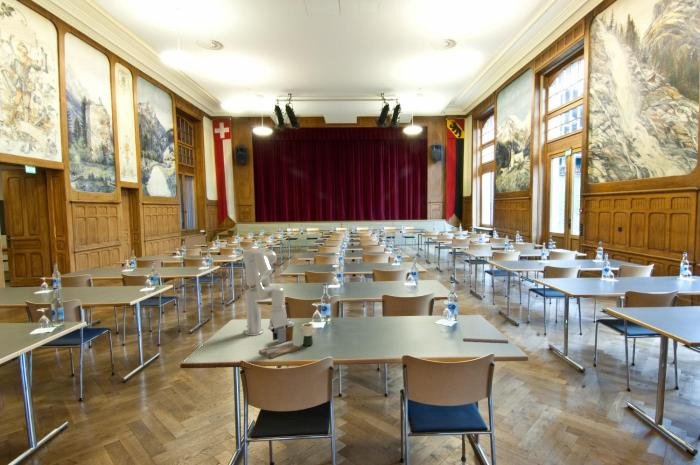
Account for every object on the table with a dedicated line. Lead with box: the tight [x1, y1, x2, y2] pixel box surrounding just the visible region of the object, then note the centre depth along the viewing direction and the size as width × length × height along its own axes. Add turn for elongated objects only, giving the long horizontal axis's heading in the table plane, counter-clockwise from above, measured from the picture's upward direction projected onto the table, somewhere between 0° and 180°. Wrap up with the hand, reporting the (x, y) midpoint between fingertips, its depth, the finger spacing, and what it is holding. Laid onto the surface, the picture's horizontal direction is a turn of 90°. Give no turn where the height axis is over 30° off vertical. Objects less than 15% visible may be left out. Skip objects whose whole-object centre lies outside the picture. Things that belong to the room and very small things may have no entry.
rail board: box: [258, 340, 300, 360], centre depth 223 cm, size 14×20×3 cm
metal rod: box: [462, 337, 509, 344], centre depth 232 cm, size 2×27×2 cm, turn 80°
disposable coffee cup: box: [285, 319, 295, 342], centre depth 241 cm, size 10×10×12 cm
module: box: [272, 327, 287, 344], centre depth 222 cm, size 7×5×8 cm
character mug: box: [298, 322, 317, 347], centre depth 231 cm, size 11×7×13 cm, turn 82°
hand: (279, 337), depth 222 cm, fingers closed on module, 5 cm apart
